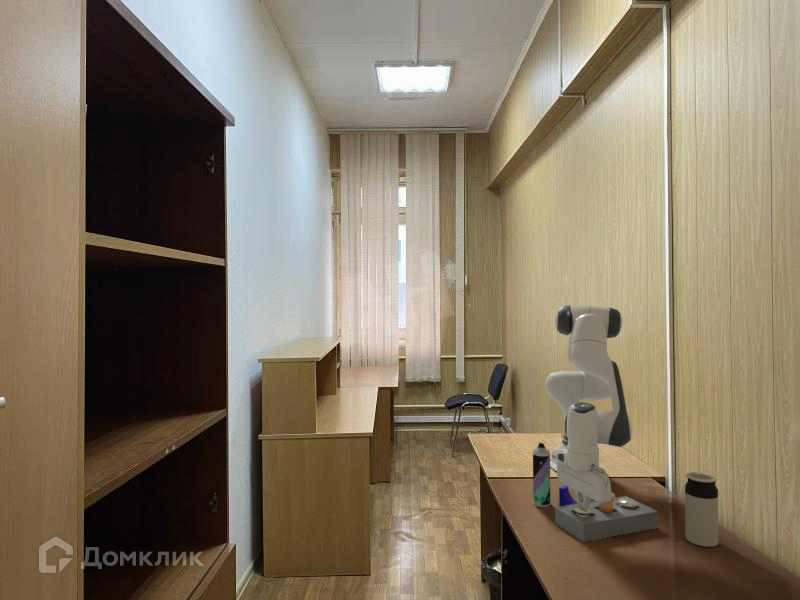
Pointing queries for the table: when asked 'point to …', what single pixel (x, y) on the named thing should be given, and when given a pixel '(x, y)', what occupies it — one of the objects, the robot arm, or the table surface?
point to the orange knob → (607, 505)
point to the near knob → (583, 511)
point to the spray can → (541, 476)
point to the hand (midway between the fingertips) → (583, 507)
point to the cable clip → (566, 497)
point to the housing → (606, 520)
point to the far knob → (627, 503)
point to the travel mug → (701, 509)
